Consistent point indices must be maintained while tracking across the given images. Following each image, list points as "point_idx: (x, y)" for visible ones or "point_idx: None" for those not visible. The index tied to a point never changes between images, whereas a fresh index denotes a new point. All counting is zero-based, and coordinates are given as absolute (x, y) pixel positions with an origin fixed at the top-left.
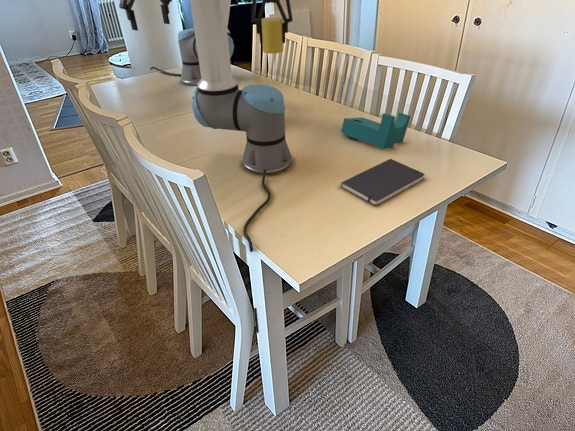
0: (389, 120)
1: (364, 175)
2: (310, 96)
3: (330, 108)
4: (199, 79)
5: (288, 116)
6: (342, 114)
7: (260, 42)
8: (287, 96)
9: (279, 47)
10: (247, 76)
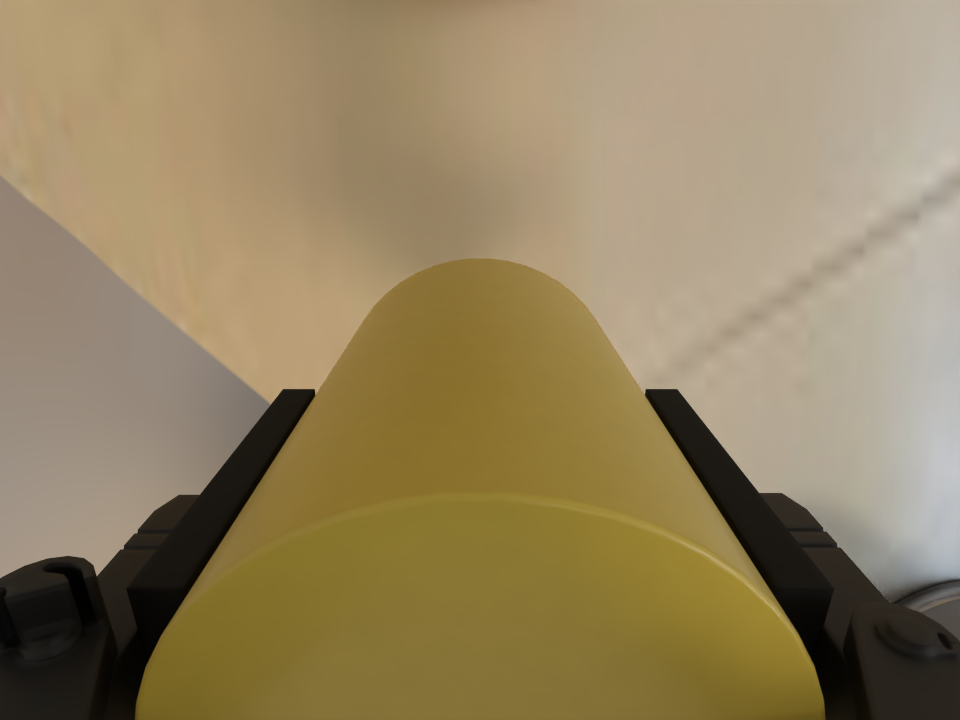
0: None
1: None
2: (270, 385)
3: (113, 170)
4: (958, 610)
5: (378, 25)
6: (12, 51)
7: (675, 396)
8: None
9: (374, 313)
10: None
